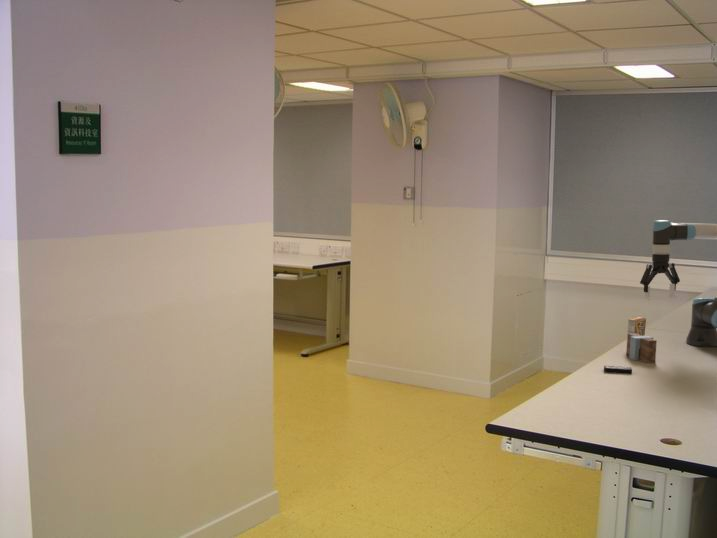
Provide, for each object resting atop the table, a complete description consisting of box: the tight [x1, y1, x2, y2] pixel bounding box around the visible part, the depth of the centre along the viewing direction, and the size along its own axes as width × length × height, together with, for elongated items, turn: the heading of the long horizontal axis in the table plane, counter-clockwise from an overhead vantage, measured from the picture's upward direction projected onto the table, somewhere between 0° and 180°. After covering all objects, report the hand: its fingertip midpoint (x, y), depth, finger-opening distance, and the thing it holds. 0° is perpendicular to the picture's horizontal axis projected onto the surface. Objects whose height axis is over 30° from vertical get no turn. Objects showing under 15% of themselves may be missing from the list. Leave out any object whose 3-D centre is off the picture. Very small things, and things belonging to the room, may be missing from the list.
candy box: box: [627, 316, 647, 337], centre depth 375 cm, size 9×4×15 cm, turn 129°
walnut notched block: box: [626, 333, 658, 364], centre depth 358 cm, size 4×16×10 cm, turn 15°
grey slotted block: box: [628, 335, 654, 361], centre depth 358 cm, size 9×4×10 cm, turn 105°
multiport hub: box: [603, 365, 633, 375], centre depth 334 cm, size 4×11×2 cm, turn 79°
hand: (659, 298), depth 373 cm, fingers open, 13 cm apart
